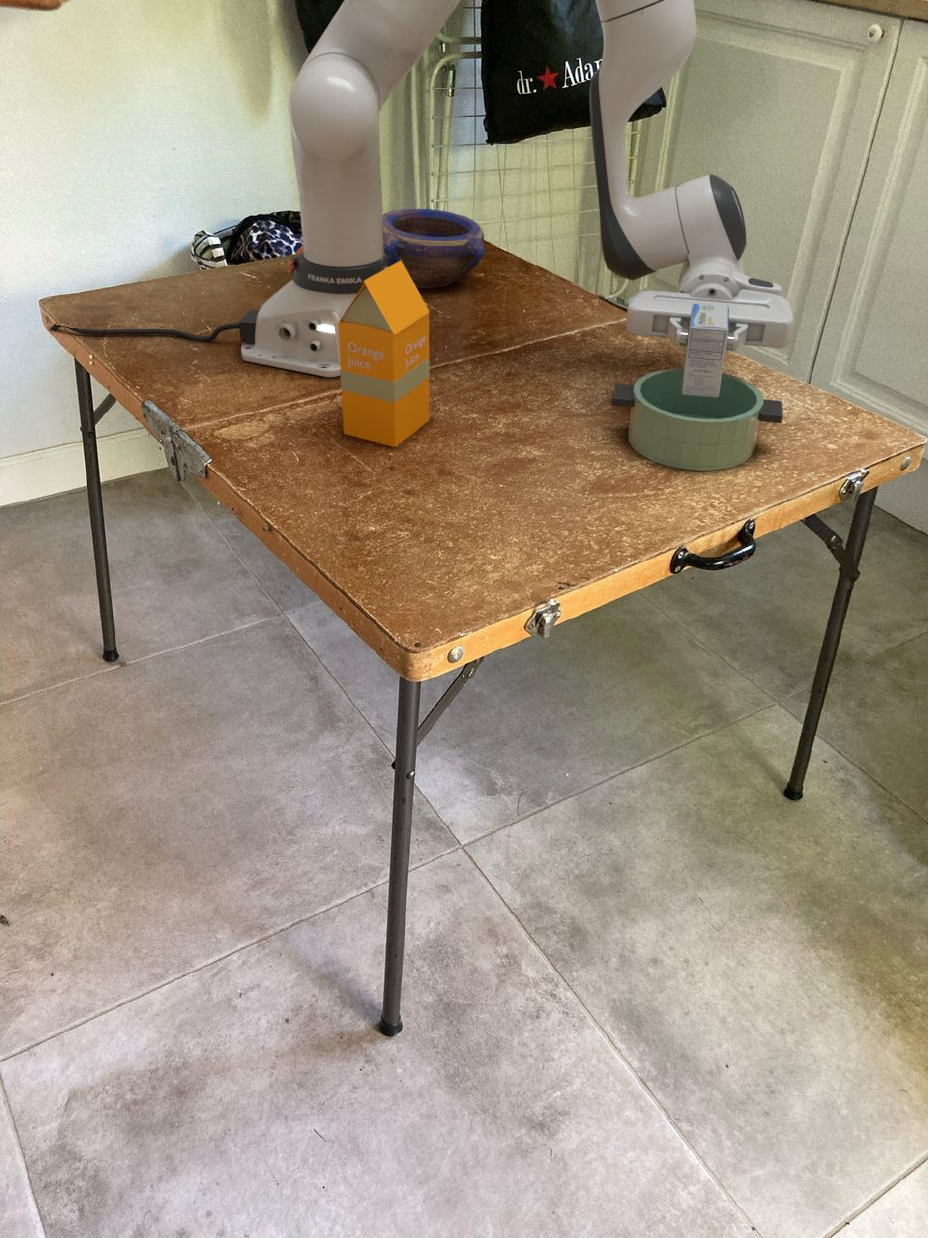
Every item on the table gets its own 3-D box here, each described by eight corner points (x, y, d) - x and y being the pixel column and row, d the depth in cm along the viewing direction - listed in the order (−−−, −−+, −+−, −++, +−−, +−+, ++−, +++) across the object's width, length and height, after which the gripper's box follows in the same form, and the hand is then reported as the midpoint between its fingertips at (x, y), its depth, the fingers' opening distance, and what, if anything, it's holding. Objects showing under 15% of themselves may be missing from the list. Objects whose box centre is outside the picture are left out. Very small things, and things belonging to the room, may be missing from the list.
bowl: (485, 298, 175) (486, 236, 169) (374, 297, 174) (373, 234, 168) (481, 263, 189) (483, 205, 183) (379, 262, 189) (378, 203, 183)
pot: (622, 462, 129) (628, 413, 126) (633, 408, 142) (639, 362, 138) (753, 477, 127) (763, 427, 123) (753, 421, 139) (762, 374, 135)
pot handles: (611, 405, 131) (612, 397, 131) (615, 391, 135) (615, 383, 134) (781, 423, 128) (782, 415, 128) (780, 408, 132) (781, 400, 131)
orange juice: (342, 433, 134) (334, 275, 122) (378, 407, 141) (374, 254, 129) (396, 447, 131) (393, 287, 120) (430, 420, 138) (431, 265, 126)
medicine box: (718, 399, 126) (730, 328, 121) (680, 395, 127) (690, 325, 122) (719, 372, 133) (730, 304, 127) (682, 369, 133) (692, 301, 128)
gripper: (632, 271, 138) (622, 309, 127) (794, 285, 135) (798, 324, 124) (627, 319, 142) (616, 359, 131) (784, 333, 138) (787, 375, 128)
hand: (706, 342), depth 127 cm, fingers closed on medicine box, 4 cm apart
